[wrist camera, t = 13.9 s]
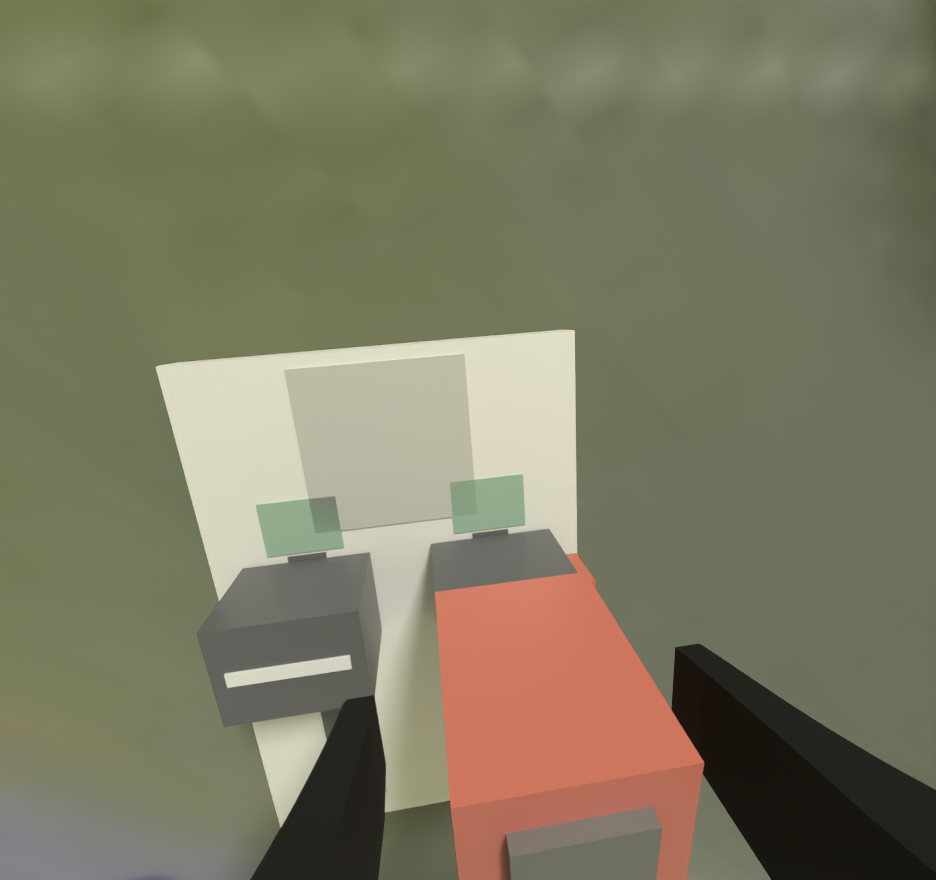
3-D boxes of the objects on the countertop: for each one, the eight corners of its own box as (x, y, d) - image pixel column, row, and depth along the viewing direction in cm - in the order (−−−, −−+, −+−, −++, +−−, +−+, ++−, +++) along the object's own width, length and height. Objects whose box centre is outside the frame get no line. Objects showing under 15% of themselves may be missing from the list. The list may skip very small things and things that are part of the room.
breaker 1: (382, 629, 15) (373, 705, 12) (261, 647, 15) (223, 729, 12) (370, 552, 14) (357, 612, 11) (242, 568, 14) (195, 635, 11)
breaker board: (569, 749, 19) (580, 778, 18) (289, 799, 18) (281, 832, 17) (561, 329, 14) (575, 330, 13) (178, 362, 13) (154, 366, 12)
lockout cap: (582, 686, 13) (691, 937, 8) (447, 708, 12) (470, 984, 7) (585, 572, 12) (717, 783, 6) (434, 592, 11) (451, 831, 6)
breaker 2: (568, 602, 15) (603, 667, 13) (439, 620, 15) (445, 693, 12) (566, 526, 15) (603, 577, 12) (431, 543, 14) (435, 601, 11)
